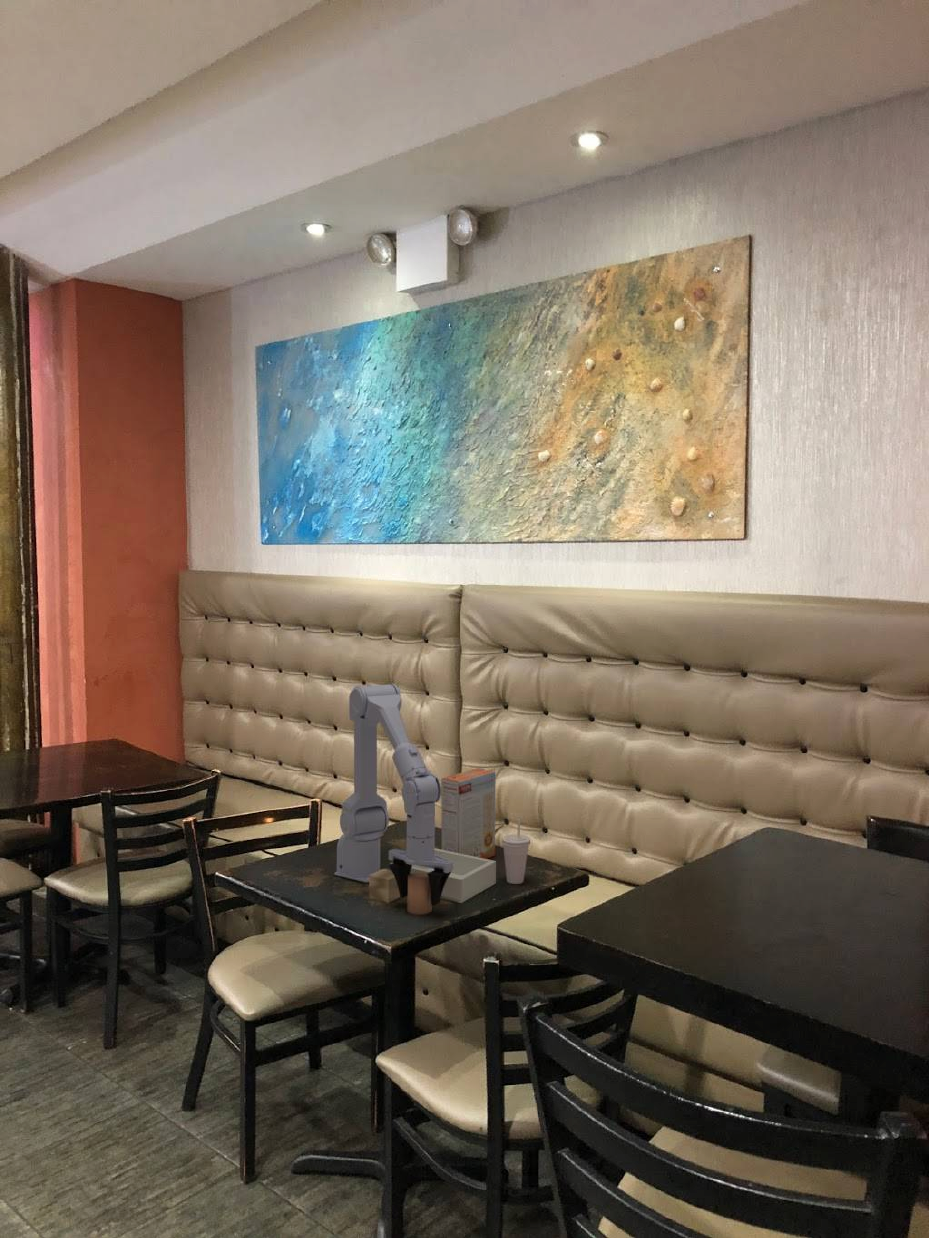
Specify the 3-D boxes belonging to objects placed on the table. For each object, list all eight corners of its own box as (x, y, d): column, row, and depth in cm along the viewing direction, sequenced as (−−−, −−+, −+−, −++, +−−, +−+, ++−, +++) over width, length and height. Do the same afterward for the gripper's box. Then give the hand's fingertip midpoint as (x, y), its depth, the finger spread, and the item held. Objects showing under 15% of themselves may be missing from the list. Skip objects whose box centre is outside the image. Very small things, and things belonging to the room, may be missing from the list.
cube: (369, 898, 201) (369, 875, 200) (383, 891, 205) (383, 868, 205) (388, 903, 198) (388, 879, 198) (402, 896, 202) (402, 873, 202)
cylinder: (402, 910, 194) (402, 877, 193) (416, 903, 198) (416, 870, 198) (422, 916, 191) (423, 882, 191) (436, 908, 195) (437, 875, 195)
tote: (389, 885, 208) (390, 863, 208) (426, 867, 220) (426, 846, 220) (461, 903, 198) (461, 879, 198) (495, 883, 211) (496, 861, 210)
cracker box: (476, 851, 233) (477, 766, 232) (495, 856, 229) (497, 770, 228) (439, 865, 222) (440, 776, 221) (459, 870, 219) (460, 781, 217)
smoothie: (527, 887, 209) (528, 824, 208) (498, 884, 210) (499, 822, 209) (531, 877, 215) (532, 816, 214) (503, 874, 216) (504, 814, 215)
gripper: (380, 833, 194) (379, 898, 195) (439, 845, 186) (438, 913, 187) (400, 825, 200) (399, 888, 201) (458, 837, 192) (457, 902, 193)
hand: (419, 900), depth 194 cm, fingers open, 7 cm apart
